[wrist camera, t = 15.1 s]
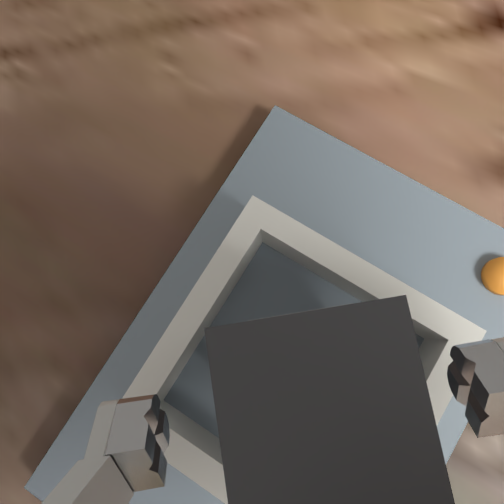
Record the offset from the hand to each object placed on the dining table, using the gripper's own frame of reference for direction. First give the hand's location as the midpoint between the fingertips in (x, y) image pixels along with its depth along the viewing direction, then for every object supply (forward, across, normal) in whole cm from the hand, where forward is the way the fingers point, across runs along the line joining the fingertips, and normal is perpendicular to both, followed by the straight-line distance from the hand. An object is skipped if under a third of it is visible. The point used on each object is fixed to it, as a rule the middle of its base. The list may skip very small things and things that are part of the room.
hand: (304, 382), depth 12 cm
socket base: (+5, 0, +5) cm, 7 cm away
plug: (+4, 0, +4) cm, 6 cm away
